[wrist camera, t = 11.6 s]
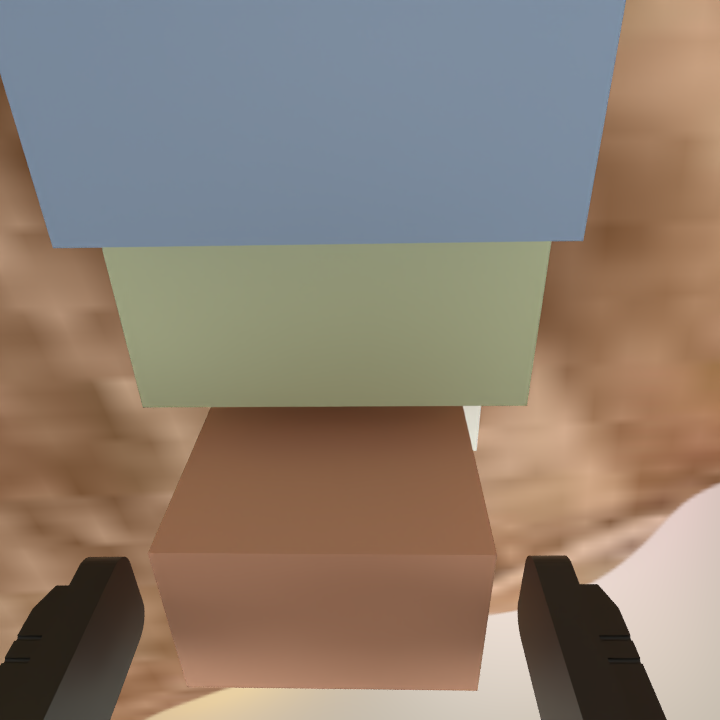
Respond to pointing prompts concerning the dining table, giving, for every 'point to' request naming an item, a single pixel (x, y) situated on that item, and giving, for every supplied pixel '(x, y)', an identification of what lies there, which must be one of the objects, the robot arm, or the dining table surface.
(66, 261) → the dining table surface
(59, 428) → the dining table surface
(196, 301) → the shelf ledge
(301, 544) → the terracotta block
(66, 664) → the robot arm
